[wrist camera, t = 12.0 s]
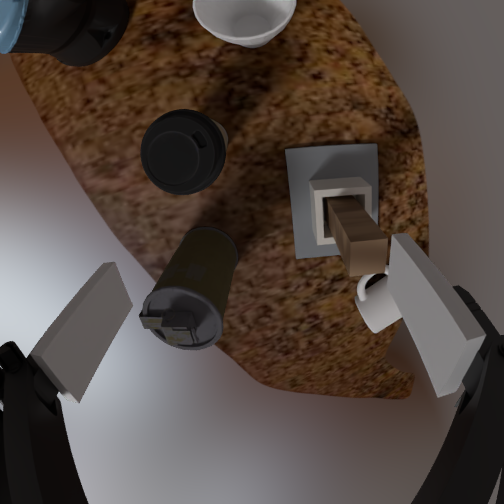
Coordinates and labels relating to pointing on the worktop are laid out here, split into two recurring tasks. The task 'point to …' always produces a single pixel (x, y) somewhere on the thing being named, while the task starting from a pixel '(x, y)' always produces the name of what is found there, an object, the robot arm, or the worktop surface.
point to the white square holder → (335, 188)
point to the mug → (376, 303)
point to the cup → (244, 19)
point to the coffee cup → (184, 151)
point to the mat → (325, 167)
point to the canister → (192, 291)
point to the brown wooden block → (356, 236)
